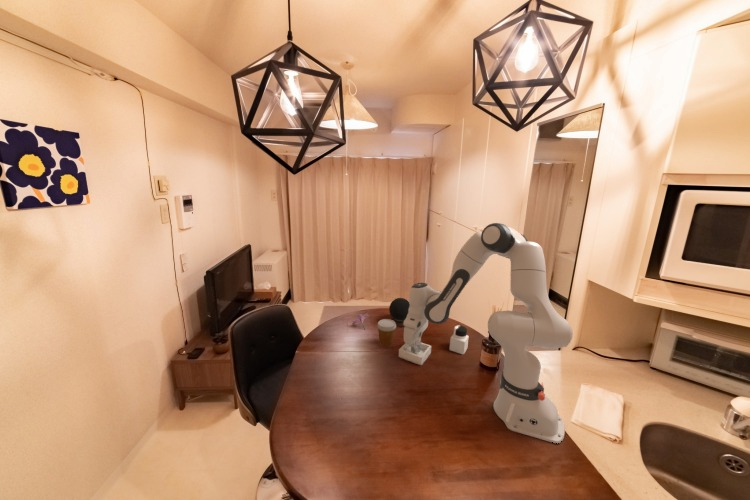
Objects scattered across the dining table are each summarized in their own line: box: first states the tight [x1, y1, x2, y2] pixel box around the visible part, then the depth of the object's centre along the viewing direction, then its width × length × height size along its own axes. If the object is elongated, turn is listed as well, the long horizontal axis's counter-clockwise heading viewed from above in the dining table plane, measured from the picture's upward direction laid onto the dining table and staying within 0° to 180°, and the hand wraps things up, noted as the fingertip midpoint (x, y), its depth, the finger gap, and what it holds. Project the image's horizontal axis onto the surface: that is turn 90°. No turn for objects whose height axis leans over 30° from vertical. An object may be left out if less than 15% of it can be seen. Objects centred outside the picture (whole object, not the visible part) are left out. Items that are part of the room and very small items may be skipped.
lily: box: [351, 312, 371, 330], centre depth 162 cm, size 12×12×10 cm
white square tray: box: [398, 342, 432, 366], centre depth 137 cm, size 12×12×4 cm
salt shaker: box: [411, 332, 422, 353], centre depth 136 cm, size 4×4×11 cm
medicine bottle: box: [448, 325, 470, 355], centre depth 142 cm, size 7×7×12 cm
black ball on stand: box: [388, 297, 410, 328], centre depth 167 cm, size 13×13×15 cm
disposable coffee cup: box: [376, 318, 397, 349], centre depth 145 cm, size 10×10×12 cm
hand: (415, 343), depth 136 cm, fingers closed on salt shaker, 4 cm apart
